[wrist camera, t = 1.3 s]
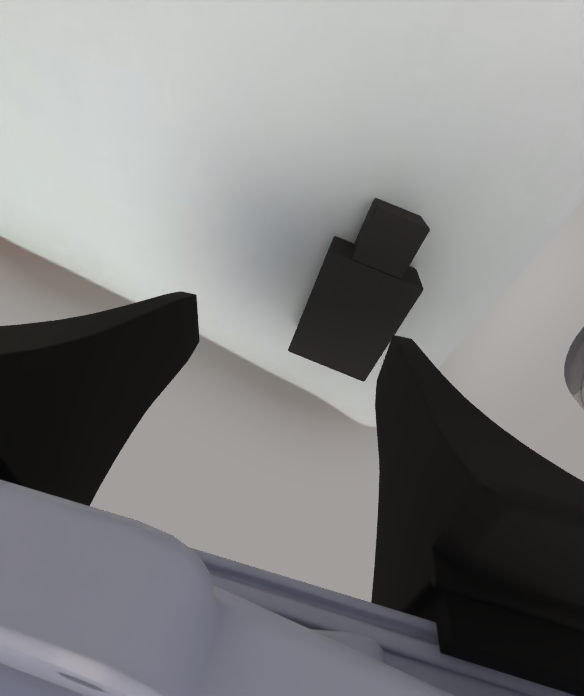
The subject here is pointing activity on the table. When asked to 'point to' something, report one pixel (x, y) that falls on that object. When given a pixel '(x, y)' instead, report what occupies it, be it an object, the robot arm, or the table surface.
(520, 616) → the robot arm
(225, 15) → the table surface
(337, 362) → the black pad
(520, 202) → the table surface
